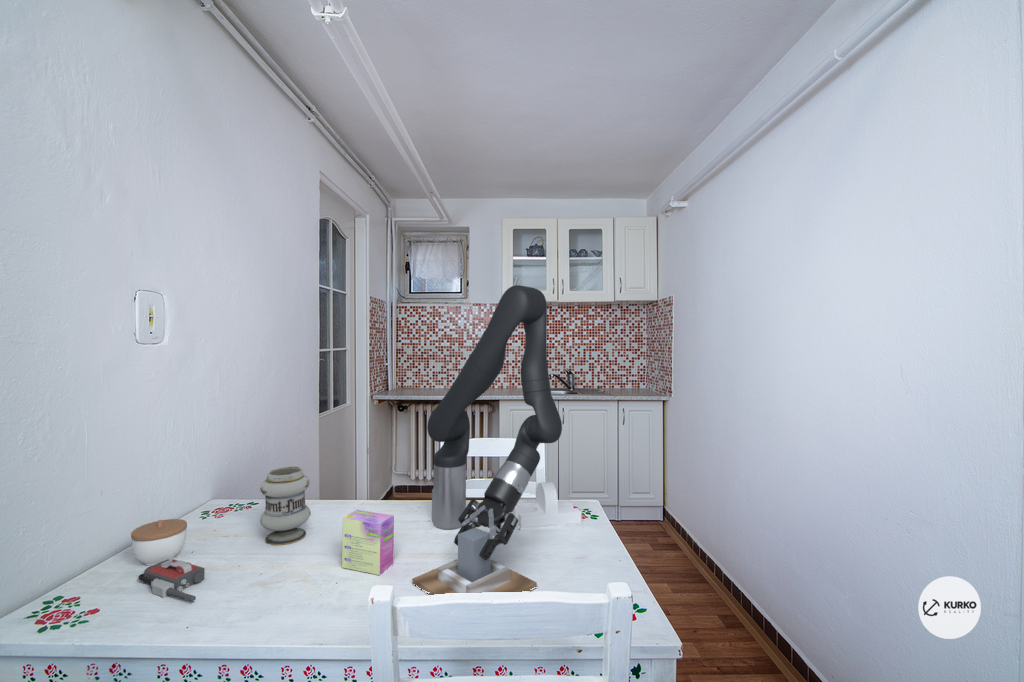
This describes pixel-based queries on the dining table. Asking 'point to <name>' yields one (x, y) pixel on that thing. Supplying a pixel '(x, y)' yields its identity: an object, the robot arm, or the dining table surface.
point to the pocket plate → (451, 582)
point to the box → (367, 541)
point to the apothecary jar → (285, 505)
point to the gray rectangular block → (472, 555)
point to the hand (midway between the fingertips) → (469, 551)
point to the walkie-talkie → (172, 578)
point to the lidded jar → (158, 540)
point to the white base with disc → (546, 509)
